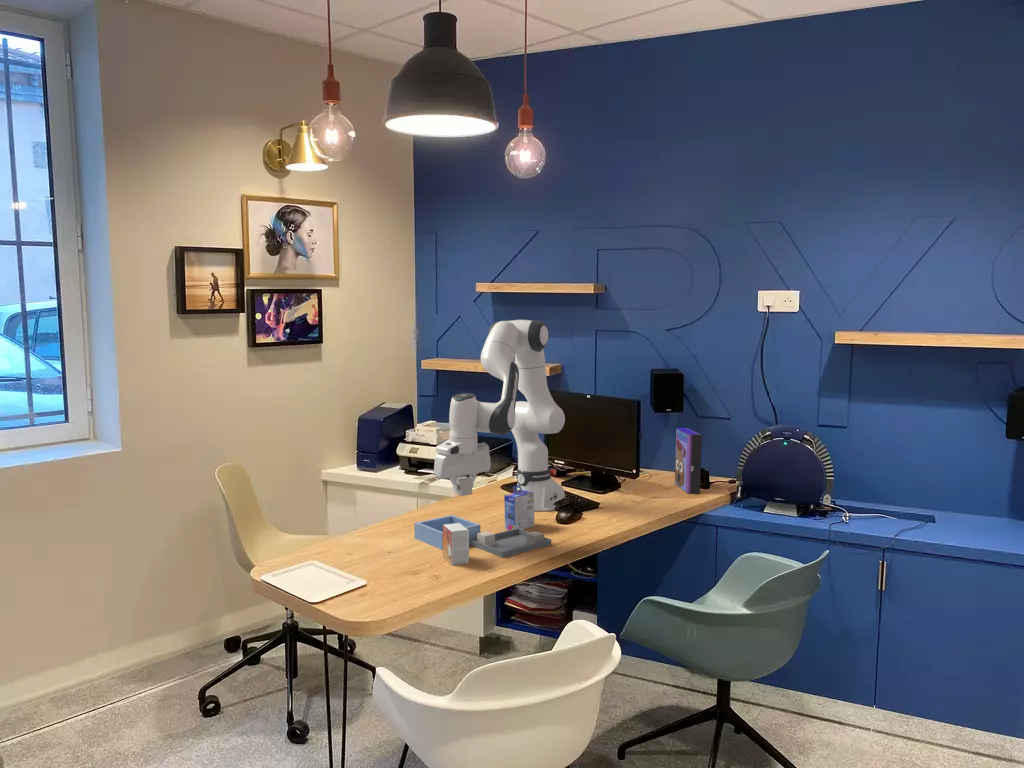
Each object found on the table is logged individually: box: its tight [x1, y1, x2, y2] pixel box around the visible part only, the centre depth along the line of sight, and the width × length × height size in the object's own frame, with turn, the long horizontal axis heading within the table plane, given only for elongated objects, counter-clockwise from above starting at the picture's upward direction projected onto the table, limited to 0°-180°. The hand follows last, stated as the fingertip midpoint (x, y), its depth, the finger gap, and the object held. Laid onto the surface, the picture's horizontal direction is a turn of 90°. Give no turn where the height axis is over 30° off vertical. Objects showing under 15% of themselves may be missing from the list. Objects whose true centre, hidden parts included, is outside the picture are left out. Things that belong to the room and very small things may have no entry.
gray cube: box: [526, 530, 545, 545], centre depth 253 cm, size 4×4×4 cm
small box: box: [442, 523, 470, 567], centre depth 238 cm, size 8×6×10 cm
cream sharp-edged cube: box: [477, 531, 495, 546], centre depth 253 cm, size 4×4×4 cm
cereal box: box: [674, 427, 703, 495], centre depth 330 cm, size 17×5×24 cm, turn 6°
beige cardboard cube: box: [453, 475, 473, 497], centre depth 255 cm, size 4×4×5 cm
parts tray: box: [469, 528, 552, 559], centre depth 253 cm, size 20×16×2 cm
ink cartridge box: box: [503, 485, 535, 531], centre depth 272 cm, size 10×6×14 cm, turn 137°
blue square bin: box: [414, 514, 481, 551], centre depth 258 cm, size 15×15×6 cm
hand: (463, 488), depth 255 cm, fingers closed on beige cardboard cube, 4 cm apart
